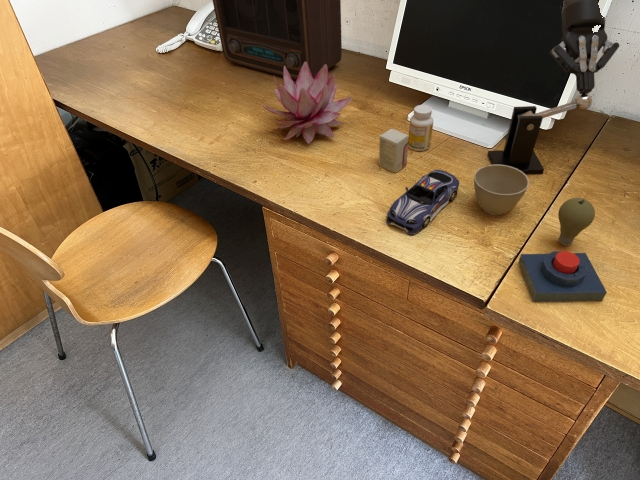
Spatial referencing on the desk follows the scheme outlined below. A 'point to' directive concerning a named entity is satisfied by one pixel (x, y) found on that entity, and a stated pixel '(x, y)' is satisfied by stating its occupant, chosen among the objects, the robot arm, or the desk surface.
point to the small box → (393, 150)
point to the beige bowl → (499, 188)
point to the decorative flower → (309, 103)
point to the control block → (560, 279)
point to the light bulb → (574, 218)
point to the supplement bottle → (420, 128)
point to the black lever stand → (520, 143)
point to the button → (566, 262)
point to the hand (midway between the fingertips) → (585, 92)
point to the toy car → (431, 192)
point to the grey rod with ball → (564, 107)
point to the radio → (280, 34)
